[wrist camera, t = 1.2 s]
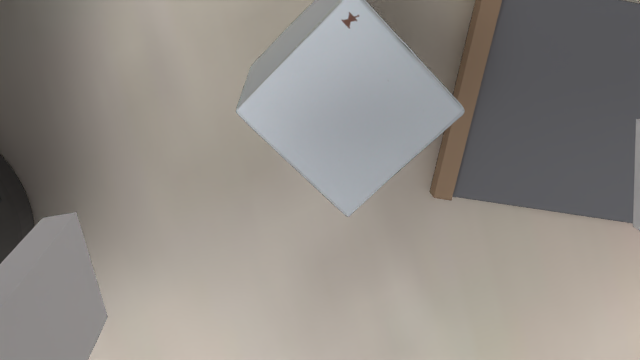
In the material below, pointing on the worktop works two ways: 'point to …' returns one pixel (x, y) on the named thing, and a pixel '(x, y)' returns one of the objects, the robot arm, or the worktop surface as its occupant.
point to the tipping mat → (546, 108)
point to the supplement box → (345, 100)
